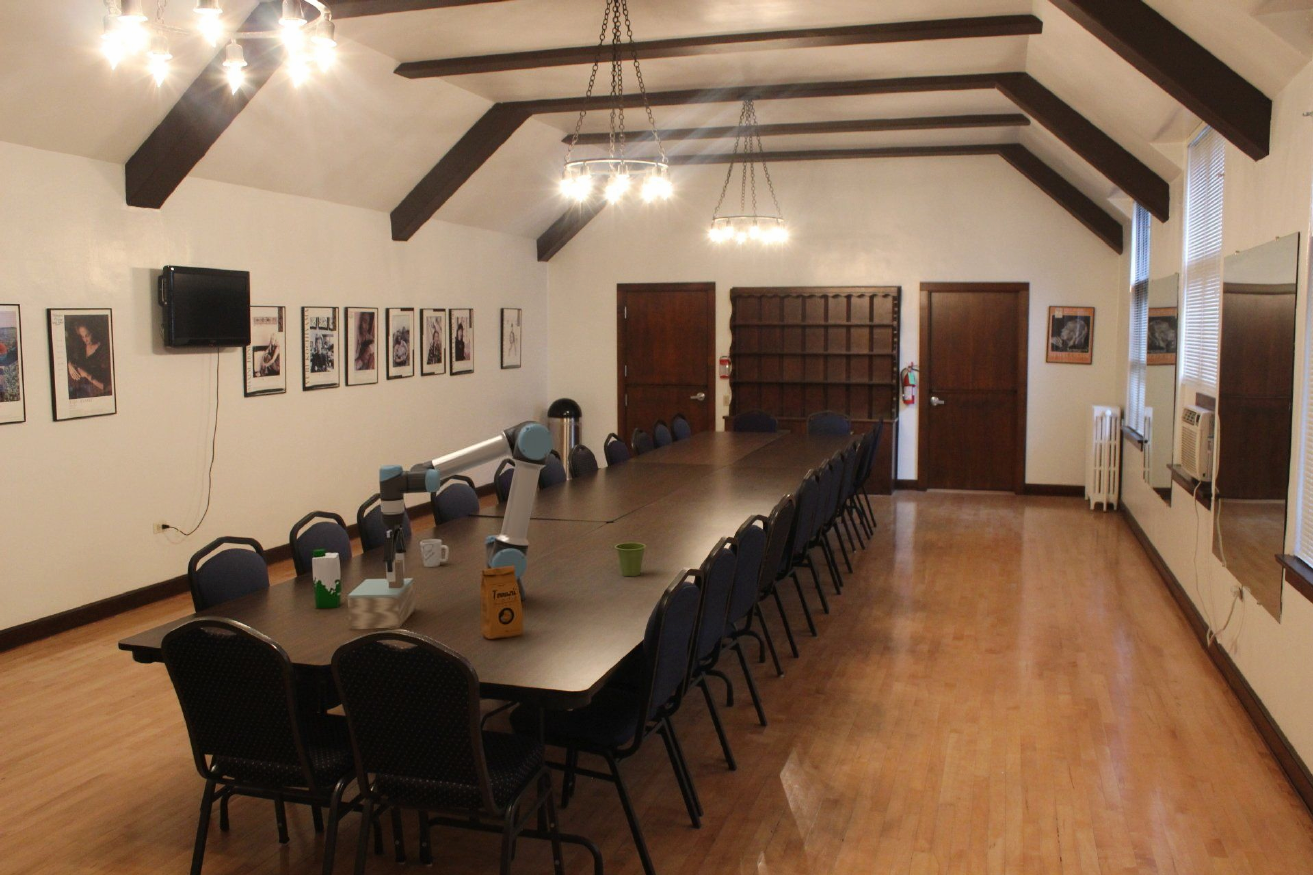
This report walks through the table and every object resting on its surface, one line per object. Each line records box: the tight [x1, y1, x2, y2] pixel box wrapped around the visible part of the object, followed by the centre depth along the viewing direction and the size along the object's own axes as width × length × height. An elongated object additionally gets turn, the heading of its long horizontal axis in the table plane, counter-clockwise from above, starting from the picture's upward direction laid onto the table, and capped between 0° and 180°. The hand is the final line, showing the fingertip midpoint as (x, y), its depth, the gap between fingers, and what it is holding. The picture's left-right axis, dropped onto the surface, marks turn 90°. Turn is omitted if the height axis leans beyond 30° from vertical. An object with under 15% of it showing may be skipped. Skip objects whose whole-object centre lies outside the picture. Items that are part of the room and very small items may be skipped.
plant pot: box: [614, 542, 647, 577], centre depth 402 cm, size 12×12×11 cm
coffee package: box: [479, 566, 524, 640], centre depth 327 cm, size 10×12×22 cm
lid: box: [347, 559, 414, 599], centre depth 347 cm, size 16×21×10 cm
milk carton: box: [311, 548, 342, 610], centre depth 366 cm, size 9×9×20 cm
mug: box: [419, 538, 450, 568], centre depth 424 cm, size 11×8×10 cm
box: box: [347, 580, 416, 630], centre depth 348 cm, size 16×22×10 cm
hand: (395, 576), depth 347 cm, fingers open, 11 cm apart
